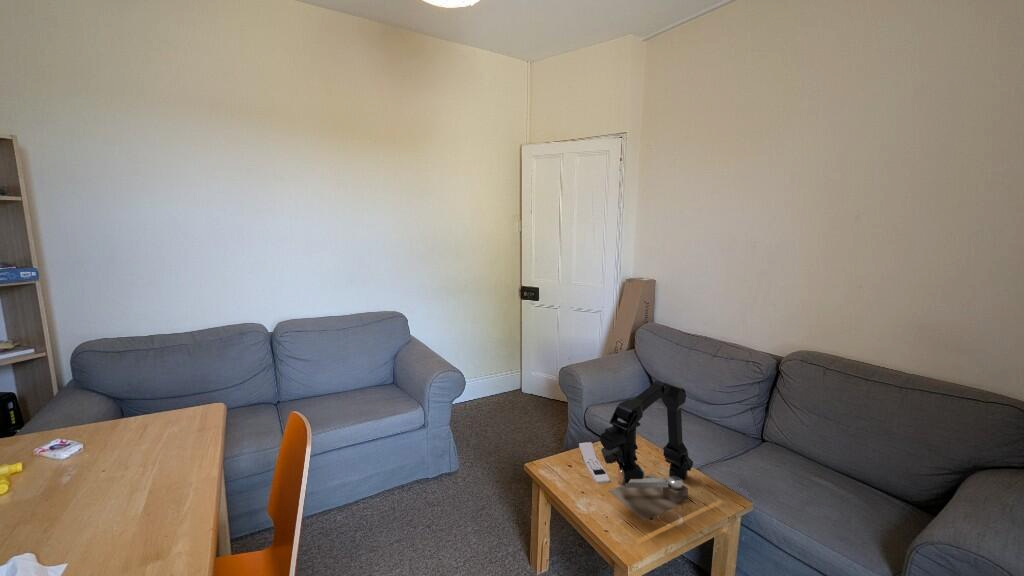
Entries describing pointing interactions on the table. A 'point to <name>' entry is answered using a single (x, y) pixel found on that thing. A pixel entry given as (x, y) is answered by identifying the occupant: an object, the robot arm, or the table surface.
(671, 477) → the lever
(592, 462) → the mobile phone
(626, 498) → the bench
